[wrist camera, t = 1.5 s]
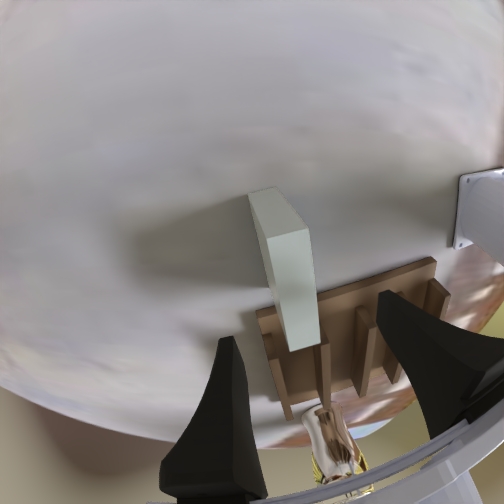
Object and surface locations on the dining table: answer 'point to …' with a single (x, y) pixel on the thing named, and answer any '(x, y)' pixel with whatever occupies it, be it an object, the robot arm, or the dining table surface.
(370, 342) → the rack
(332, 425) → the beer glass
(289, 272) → the tile
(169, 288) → the dining table surface
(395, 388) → the dining table surface
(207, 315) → the dining table surface
